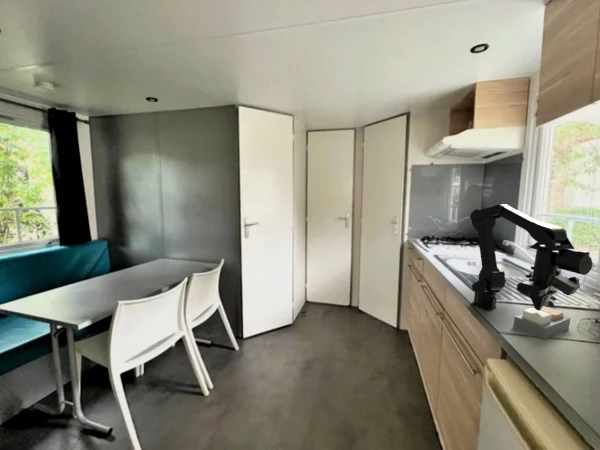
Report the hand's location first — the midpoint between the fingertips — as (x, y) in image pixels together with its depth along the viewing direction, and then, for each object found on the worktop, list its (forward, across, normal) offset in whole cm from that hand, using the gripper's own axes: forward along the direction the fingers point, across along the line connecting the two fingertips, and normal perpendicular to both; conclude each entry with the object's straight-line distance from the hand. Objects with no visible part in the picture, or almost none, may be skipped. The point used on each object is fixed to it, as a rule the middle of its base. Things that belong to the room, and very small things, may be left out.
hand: (537, 309), depth 93 cm
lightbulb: (+8, +28, +9) cm, 30 cm away
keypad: (+7, +4, 0) cm, 9 cm away
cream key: (+5, 0, 0) cm, 5 cm away
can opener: (+8, +36, +15) cm, 40 cm away
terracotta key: (+6, +9, 0) cm, 11 cm away
